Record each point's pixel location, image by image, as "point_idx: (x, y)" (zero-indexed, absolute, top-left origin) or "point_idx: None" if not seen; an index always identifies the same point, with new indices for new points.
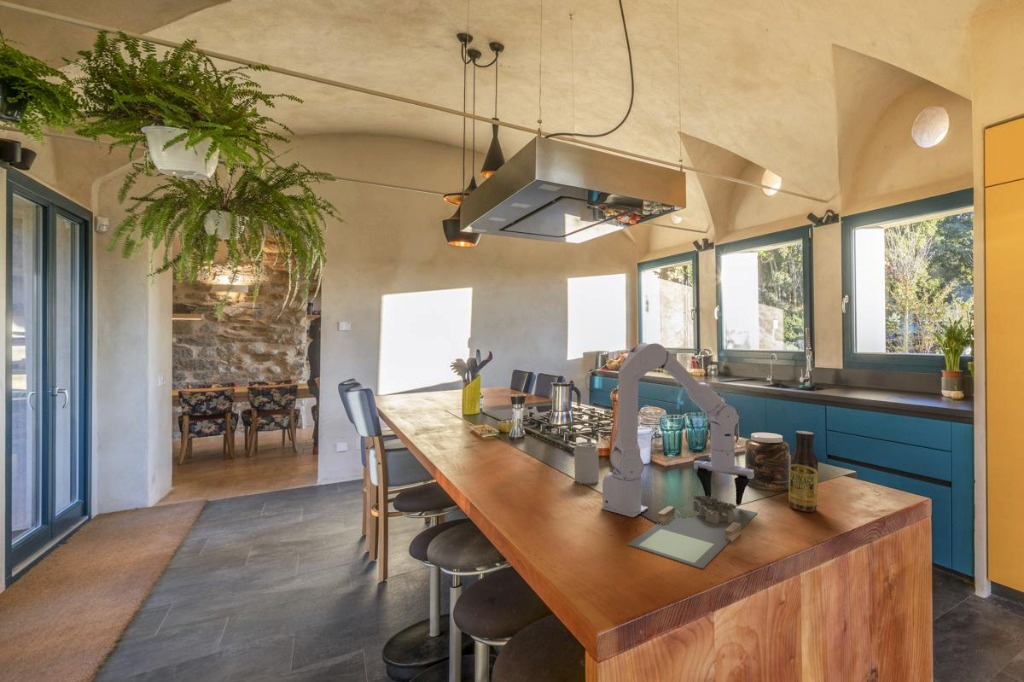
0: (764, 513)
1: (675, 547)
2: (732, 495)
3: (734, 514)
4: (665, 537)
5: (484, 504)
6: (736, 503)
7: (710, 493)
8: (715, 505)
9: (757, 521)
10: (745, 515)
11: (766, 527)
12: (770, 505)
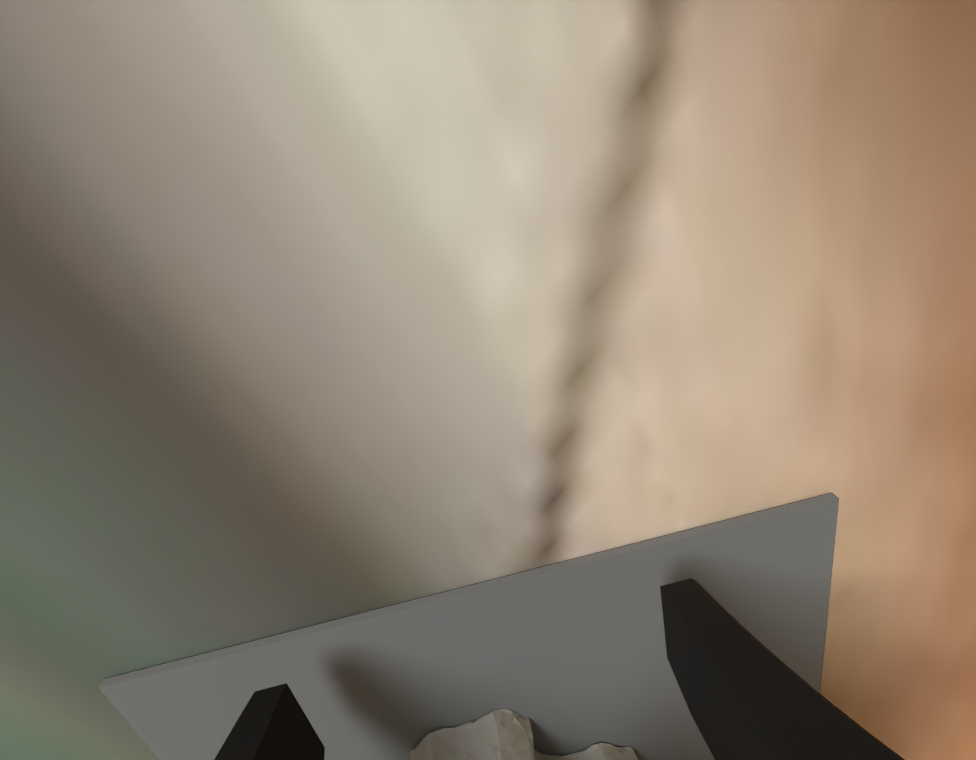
0: (895, 428)
1: None
2: (237, 67)
3: (675, 691)
4: None
5: None
6: (679, 674)
7: (281, 744)
8: (482, 756)
9: (867, 638)
10: (760, 639)
11: (945, 674)
12: (933, 41)
